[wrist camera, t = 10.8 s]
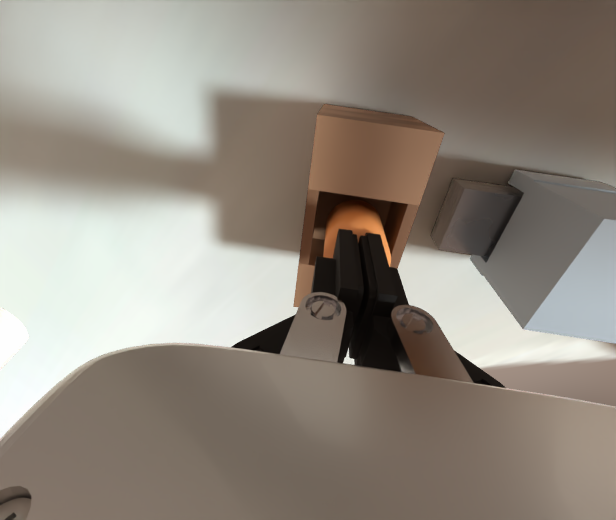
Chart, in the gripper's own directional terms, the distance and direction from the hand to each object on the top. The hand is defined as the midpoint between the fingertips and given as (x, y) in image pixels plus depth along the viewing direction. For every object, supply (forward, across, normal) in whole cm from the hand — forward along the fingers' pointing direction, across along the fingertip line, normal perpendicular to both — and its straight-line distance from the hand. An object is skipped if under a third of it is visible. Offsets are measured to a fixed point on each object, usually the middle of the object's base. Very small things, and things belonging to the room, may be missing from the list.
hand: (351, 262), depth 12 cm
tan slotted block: (+8, 0, 0) cm, 8 cm away
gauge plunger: (+4, 0, 0) cm, 4 cm away
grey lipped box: (+8, -12, 0) cm, 14 cm away
